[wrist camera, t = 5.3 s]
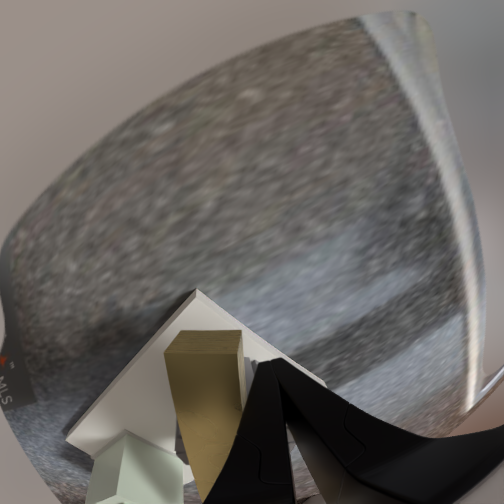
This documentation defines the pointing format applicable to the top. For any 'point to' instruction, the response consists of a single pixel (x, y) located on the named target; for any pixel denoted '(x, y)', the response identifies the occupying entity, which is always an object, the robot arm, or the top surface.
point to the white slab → (162, 387)
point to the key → (207, 397)
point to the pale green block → (135, 475)
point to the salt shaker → (315, 500)
